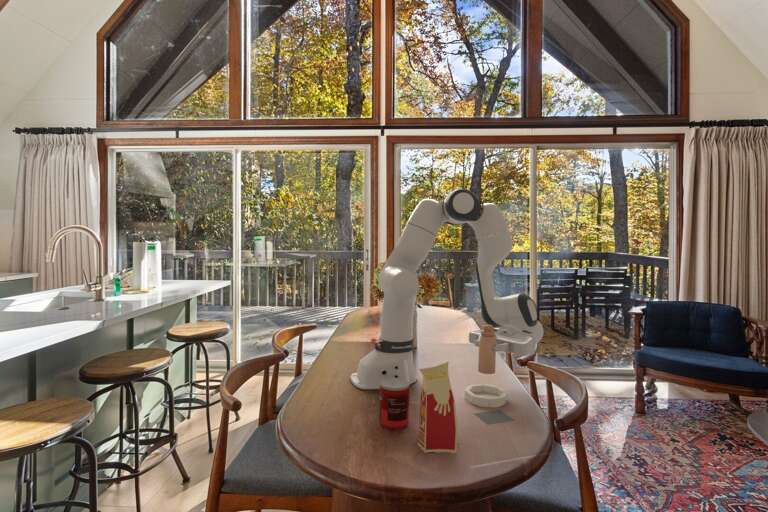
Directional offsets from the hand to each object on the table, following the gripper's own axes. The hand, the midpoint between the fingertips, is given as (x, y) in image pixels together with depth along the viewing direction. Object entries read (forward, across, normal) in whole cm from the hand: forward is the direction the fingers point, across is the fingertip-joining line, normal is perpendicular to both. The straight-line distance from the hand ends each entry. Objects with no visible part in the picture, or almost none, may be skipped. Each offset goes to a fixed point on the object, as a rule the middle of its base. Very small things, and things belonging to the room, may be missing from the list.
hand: (485, 346), depth 128 cm
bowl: (-1, 0, +17) cm, 17 cm away
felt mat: (+8, +8, +17) cm, 20 cm away
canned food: (+31, -7, +17) cm, 36 cm away
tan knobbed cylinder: (-1, 0, +8) cm, 8 cm away
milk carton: (+31, +7, +17) cm, 36 cm away
